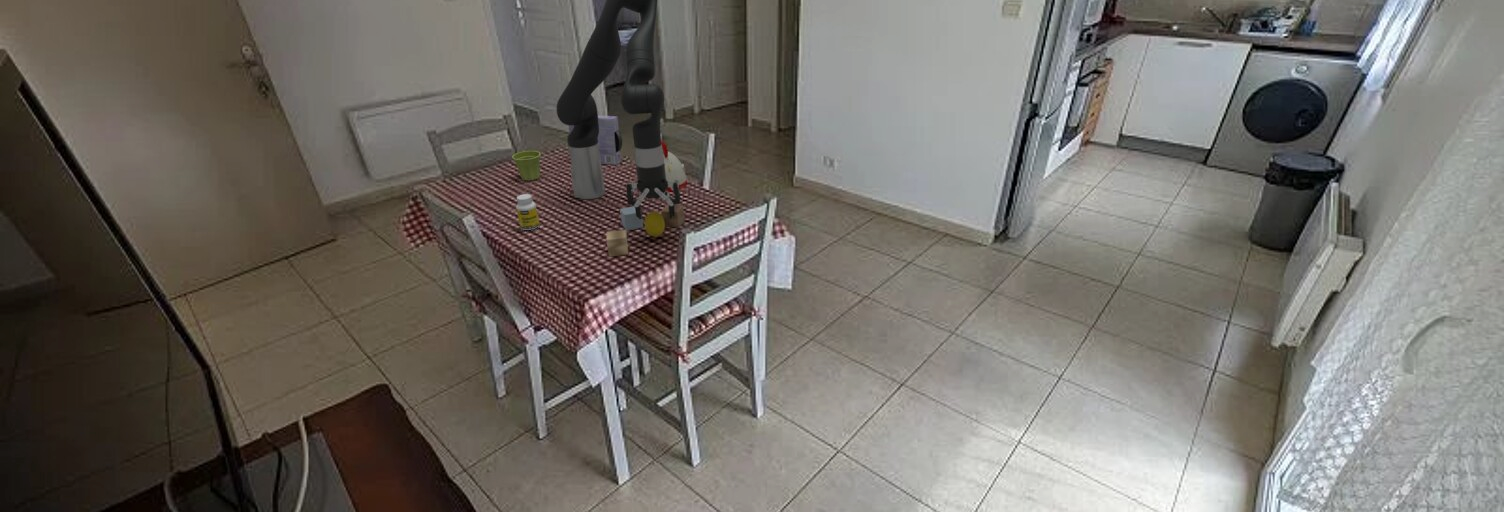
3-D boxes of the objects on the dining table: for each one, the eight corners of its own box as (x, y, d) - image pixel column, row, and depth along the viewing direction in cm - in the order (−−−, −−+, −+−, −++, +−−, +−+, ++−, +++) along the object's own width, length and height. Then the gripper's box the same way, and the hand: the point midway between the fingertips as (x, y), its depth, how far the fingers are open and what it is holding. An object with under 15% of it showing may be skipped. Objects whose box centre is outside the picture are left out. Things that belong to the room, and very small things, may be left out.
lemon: (667, 233, 170) (665, 207, 166) (663, 242, 165) (660, 215, 161) (648, 232, 170) (646, 207, 167) (643, 241, 166) (640, 215, 162)
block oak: (608, 256, 158) (606, 239, 156) (609, 248, 162) (607, 231, 160) (628, 254, 159) (625, 237, 157) (628, 246, 163) (625, 229, 161)
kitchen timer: (652, 194, 196) (647, 150, 189) (641, 181, 207) (636, 139, 200) (692, 188, 201) (689, 144, 194) (679, 175, 212) (676, 133, 205)
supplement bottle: (522, 233, 172) (515, 201, 167) (519, 225, 176) (512, 195, 171) (541, 229, 174) (535, 197, 169) (538, 222, 178) (532, 191, 173)
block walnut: (662, 226, 174) (661, 210, 172) (668, 219, 178) (667, 204, 176) (678, 228, 173) (677, 212, 171) (684, 221, 177) (683, 205, 175)
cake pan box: (625, 161, 226) (619, 115, 218) (620, 165, 222) (614, 118, 213) (578, 158, 229) (570, 113, 221) (572, 163, 225) (564, 116, 216)
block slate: (626, 231, 172) (624, 215, 170) (621, 224, 176) (619, 208, 174) (643, 227, 174) (641, 211, 171) (638, 221, 178) (636, 205, 175)
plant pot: (540, 183, 207) (535, 159, 203) (513, 183, 207) (507, 159, 203) (548, 173, 215) (544, 150, 211) (522, 174, 215) (517, 150, 211)
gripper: (620, 167, 154) (628, 224, 162) (675, 165, 154) (680, 222, 162) (625, 158, 161) (632, 213, 168) (678, 156, 161) (683, 211, 168)
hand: (656, 217), depth 165 cm, fingers open, 8 cm apart
